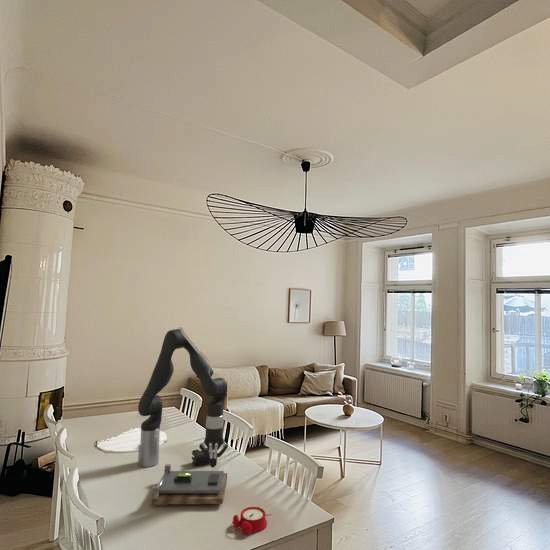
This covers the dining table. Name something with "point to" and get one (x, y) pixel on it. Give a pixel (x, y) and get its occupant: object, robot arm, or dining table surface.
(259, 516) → the alarm clock
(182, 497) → the wooden fixture base
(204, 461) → the black camera
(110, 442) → the white flat irregular sheet
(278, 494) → the dining table surface
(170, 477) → the plate
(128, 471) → the dining table surface
